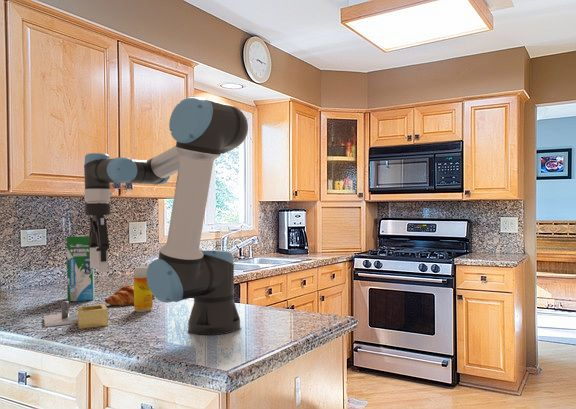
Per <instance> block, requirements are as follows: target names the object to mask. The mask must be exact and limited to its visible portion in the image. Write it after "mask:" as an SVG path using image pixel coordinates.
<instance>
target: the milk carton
mask: <svg viewBox="0 0 576 409" xmlns="http://www.w3.org/2000/svg"><path fill="white" fill-rule="evenodd" d="M88 242H89V235H87V236H86V235H82V234H81V235H80V234H79V235H75V236H66V277H67V278H66V282H67V284H66V287H67V289H66V291H67V294H66V295H67V301H75V302H85V301H87V300H89V301H94V299H95V293H96V292H95V288H96V287H95V268H90V248H91V247H90V246H89V244H88ZM87 302H88V301H87Z"/></svg>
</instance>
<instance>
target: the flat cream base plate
mask: <svg viewBox="0 0 576 409" xmlns="http://www.w3.org/2000/svg"><path fill="white" fill-rule="evenodd" d="M60 304H61V313H56V314H48V315H43V324H44V328H46V327H55V326H64V325H65V326H66V325H72V324H73V325H74V324H77V311H75V312H74V311H73V312H70V302H69V301H68V300H63V301H61V303H60Z"/></svg>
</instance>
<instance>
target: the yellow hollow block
mask: <svg viewBox="0 0 576 409" xmlns="http://www.w3.org/2000/svg"><path fill="white" fill-rule="evenodd" d="M76 312H77V323H76V324H77V327H78V329H79V330H81V329H89V328H90V329H91V328H96V327H107V326H109V320H108V319H109V315H108V314H109V310H108V307H107V306H106V304H104V303H103V304H93V305H85V306H77V307H76Z"/></svg>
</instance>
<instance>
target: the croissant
mask: <svg viewBox="0 0 576 409" xmlns="http://www.w3.org/2000/svg"><path fill="white" fill-rule="evenodd" d="M154 298H155V297H154V295H153V294H152V299H154ZM104 301H105V304H108V305H110V306H122V307H123V306H129V305H130V306H131V305H134V285H124V286H122V287H120V288H119V289H118V291H116V292H114V293H113V295H110V296H108V297H107V298H105V299H104Z"/></svg>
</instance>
